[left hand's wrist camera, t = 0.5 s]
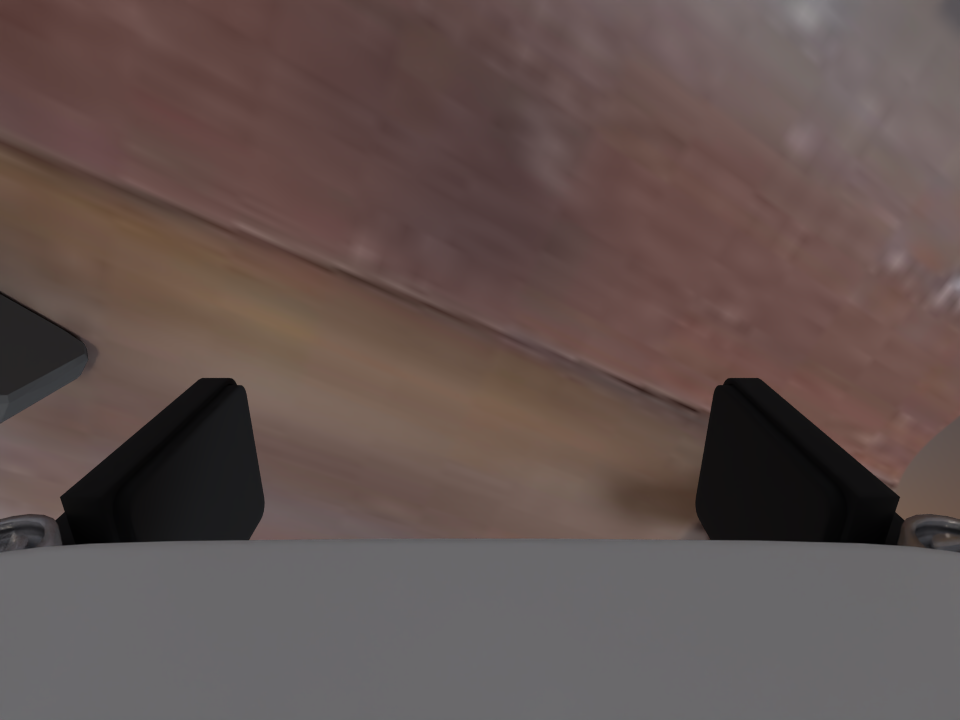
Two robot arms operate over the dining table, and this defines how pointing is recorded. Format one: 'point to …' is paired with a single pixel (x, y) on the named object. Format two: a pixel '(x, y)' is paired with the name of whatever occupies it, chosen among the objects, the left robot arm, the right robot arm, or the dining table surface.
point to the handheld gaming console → (33, 358)
